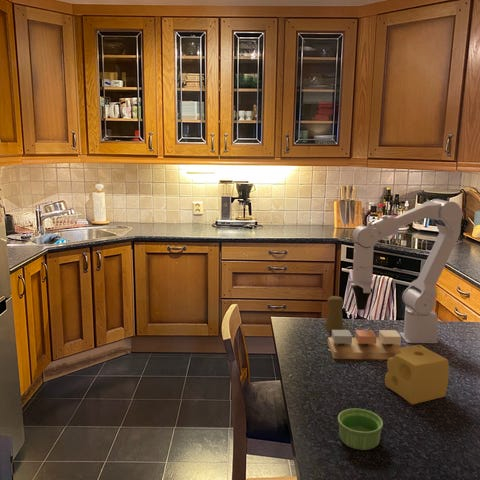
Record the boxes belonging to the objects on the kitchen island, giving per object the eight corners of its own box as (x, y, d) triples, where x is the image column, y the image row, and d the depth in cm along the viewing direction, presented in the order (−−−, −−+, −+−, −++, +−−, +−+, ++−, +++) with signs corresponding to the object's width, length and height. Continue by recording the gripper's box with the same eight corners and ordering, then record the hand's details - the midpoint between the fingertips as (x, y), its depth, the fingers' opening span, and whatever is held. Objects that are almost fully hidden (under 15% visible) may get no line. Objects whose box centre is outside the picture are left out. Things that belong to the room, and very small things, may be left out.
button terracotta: (372, 337, 144) (372, 330, 144) (376, 343, 139) (376, 336, 139) (355, 336, 144) (355, 330, 144) (358, 343, 139) (359, 336, 139)
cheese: (384, 386, 121) (386, 348, 120) (418, 379, 125) (421, 342, 123) (412, 406, 112) (414, 366, 110) (448, 398, 116) (452, 359, 114)
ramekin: (330, 442, 98) (330, 423, 97) (346, 422, 106) (347, 403, 105) (373, 458, 93) (374, 437, 92) (387, 435, 101) (388, 416, 100)
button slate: (348, 336, 144) (348, 329, 144) (351, 343, 139) (352, 336, 139) (331, 336, 144) (331, 329, 144) (334, 343, 139) (334, 336, 139)
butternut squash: (330, 324, 164) (331, 293, 162) (347, 328, 161) (348, 296, 158) (321, 329, 160) (322, 297, 158) (338, 333, 156) (339, 300, 154)
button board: (393, 344, 147) (394, 333, 147) (404, 359, 137) (405, 348, 136) (328, 343, 148) (328, 333, 147) (333, 358, 137) (334, 347, 137)
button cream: (395, 337, 144) (396, 330, 143) (400, 343, 139) (401, 336, 138) (378, 337, 144) (379, 330, 144) (383, 343, 139) (383, 336, 139)
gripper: (345, 260, 152) (343, 301, 155) (354, 271, 138) (352, 317, 141) (367, 260, 152) (365, 301, 155) (379, 271, 138) (376, 317, 141)
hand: (360, 309), depth 148 cm, fingers closed
